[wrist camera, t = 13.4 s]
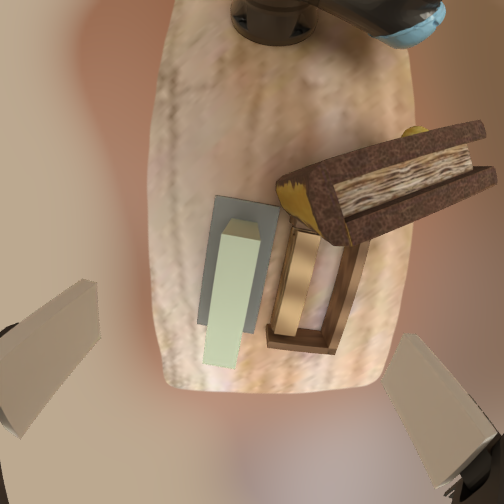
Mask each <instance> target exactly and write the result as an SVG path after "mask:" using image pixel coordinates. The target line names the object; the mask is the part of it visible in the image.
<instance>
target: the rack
mask: <svg viewBox="0 0 504 504" xmlns="http://www.w3.org/2000/svg"><path fill="white" fill-rule="evenodd" d="M290 223H292V224H293V225H294V226H295V227H297V228H302V229H307V230H311V229H310V228H308V227H307V226H305V225H304V224H303V223H301V222H300V221H298V220H297V219H295V218H294V217H293V216H291V218H290ZM370 240H371V239H370ZM370 240H368V241H365V242H363V243H360V244H358V245H355V246H353V247H347V246H345V247H344V251H343V255H342V259H341V263H340V267H339V271H338V274H337V278H336V282H335V285H334V289H333V292H332V296H331V299H330V303H329V306H328V309H327V312H326V316H325V319H324V322H323V325H322V328H321V331H317V330H309V329H301V328H297V331H296V335H295V336H288V335H280V334H274V330H272V326H271V324H267V326H266V339H267V348H273V349H281V350H289V351H298V352H308V353H318V354H329V355H335V353H336V350H337V347H338V345H339V342H340V339H341V336H342V334H343V331H344V328H345V325H346V322H347V319H348V316H349V313H350V310H351V307H352V304H353V301H354V298H355V295H356V291H357V288H358V285H359V281H360V278H361V274H362V271H363V267H364V264H365V260H366V256H367V252H368V248H369V244H370Z"/></svg>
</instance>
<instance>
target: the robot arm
mask: <svg viewBox="0 0 504 504" xmlns="http://www.w3.org/2000/svg"><path fill="white" fill-rule="evenodd" d="M441 1H442V0H233V2H232V5H231V19H232V23H233V25H234V27H235V28H236V29H237V31H238V32H239V33H240V34H242V35H243V36H244V37H246V38H248V39H250V40H252V41H254V42H257V43H260V44H264V45H270V46H286V45H292V44H296V43H298V42H301V41H303V40H304V39H306V38H307V37H309V36H310V35H311V34H312V32H313V31H314V29H315V26H316V24H317V21H318V10H317V8H320V9H322V10H324V11H326V12H328V13H330V14H333V15H335V16H337V17H339V18H341V19H343V20H345V21H347V22H349V23H350V24H352V25H354V26H356V27H358V28H360V29H361V30H363V31H365V32H367V33H368V35H369V36H371V37H372V38H376V39H378V40H380V41H382V42H384V43H385V44H387V45H389V46H390V47H392V48H396V49H407V48H411V47H413V46H415V45H417V44H419V43H420V42H422V41H423V40H425V39H426V38H427V37H428V36H430V35H431V34H432V33H433V32H434V31H435V30H436V26H438V25H439V24H441V22H442V21H443V19H444V17H445V14H446V9H445V6H444V4H443V3H442V2H441ZM100 338H101V335H100V325H99V313H98V296H97V282H92V281H89V280H86V279H81V280H80V281H78V282H77V283H75V284H74V285H72V286H71V287H69V288H68V289H66V290H65V291H64V292H62V293H61V294H59V295H58V296H56V297H55V298H53V299H52V300H50V301H49V302H48V303H46V304H45V305H44V306H42V307H41V308H39V309H38V310H36V311H35V312H34V313H32V314H31V315H30V316H28V317H27V318H26V319H24V320H23V321H22V322H20V323H16V324H13V325H10V326H8V327H6V328H5V329H4V330H2V331H1V332H0V421H1V423H2V425H3V427H4V428H5V429H6V430H8V431H9V432H10V433H12V434H13V435H15V436H16V437H17V438H19V439H21V438H22V436H23V435H24V434H25V432H26V431H27V430H28V428H29V427H30V425H31V424H32V423H33V421H34V420H35V419H36V417H37V416H38V415H39V413H40V412H41V411H42V409H43V408H44V407H45V405H46V404H47V403H48V402H49V400H50V399H51V398H52V396H53V395H54V394H55V392H56V391H57V390H58V389H59V387H60V386H61V385H62V384H63V382H64V381H65V380H66V379H67V378H68V376H69V375H70V374H71V373H72V372H73V370H74V369H75V368H76V366H77V365H78V364H79V363H80V362H81V361H82V360H83V358H84V357H85V356H86V355H87V353H88V352H89V351H90V350H91V349H92V348H93V347H94V345H95V344H96V343H97V342H98V341H99V340H100ZM381 383H382V385H383V387H384V389H385V391H386V392H387V394H388V396H389V398H390V400H391V402H392V404H393V405H394V407H395V409H396V411H397V413H398V415H399V417H400V419H401V421H402V422H403V425H404V426H405V428H406V430H407V432H408V434H409V436H410V438H411V440H412V442H413V444H414V446H415V448H416V450H417V452H418V455H419V457H420V458H421V461H422V463H423V465H424V467H425V469H426V471H427V473H428V476H429V478H430V480H431V482H432V484H433V486H434V489H436V488H439V487H441V486H444V485H446V484H448V483H450V482H451V481H452V480H453V479H454V478H455V477H456V476H457V475H459V474H460V475H461V477H462V478H461V479H460V480H459V481H458V482H456V483H455V484H454V485H453V486H452V487H451V488H450V489H449V490H447V491H446V492H445V494H444V496H447V495H448V494H449V493H450V492H452V491H453V490H455V491H454V492H453V493H452V494H451V495H450V496H449V498H452V503H451V504H504V434H503V435H502V436H501V435H500V433H499V432H498V431H497V430H496V428H495V427H494V425H493V424H492V423H491V421H490V420H489V419H488V417H487V416H486V415H485V414H484V412H482V410H481V408H480V407H479V406H477V403H476V402H475V401H474V399H473V398H472V397H471V396H470V395H469V394H468V393H467V392H466V391H465V390H464V389H463V387H462V386H461V385H460V384H459V382H458V381H457V380H456V379H455V378H454V376H453V375H452V374H451V373H450V372H449V371H448V370H447V368H446V367H445V366H444V365H443V364H442V363H441V362H440V360H439V359H438V358H437V357H436V356H435V354H434V353H433V352H432V351H431V350H430V349H429V348H428V347H427V346H426V344H425V343H424V342H423V341H422V340H421V339H420V338H419V337H418V336H417V335H416V334H405V333H404V334H403V336H402V338H401V341H400V343H399V345H398V347H397V349H396V351H395V354H394V356H393V358H392V360H391V362H390V364H389V366H388V368H387V370H386V372H385V374H384V376H383V378H382V380H381ZM0 504H9V502H8V498H7V494H6V490H5V485H4V480H3V476H2V470H1V464H0Z"/></svg>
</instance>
